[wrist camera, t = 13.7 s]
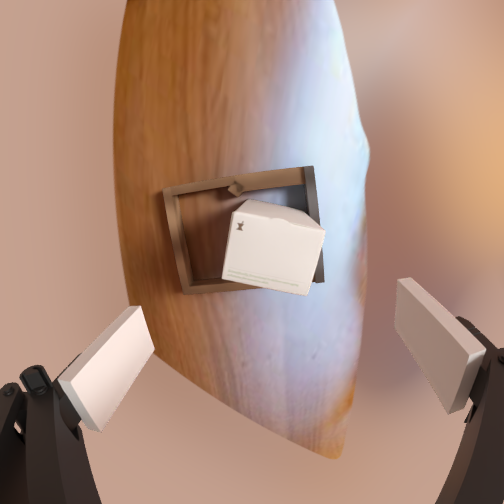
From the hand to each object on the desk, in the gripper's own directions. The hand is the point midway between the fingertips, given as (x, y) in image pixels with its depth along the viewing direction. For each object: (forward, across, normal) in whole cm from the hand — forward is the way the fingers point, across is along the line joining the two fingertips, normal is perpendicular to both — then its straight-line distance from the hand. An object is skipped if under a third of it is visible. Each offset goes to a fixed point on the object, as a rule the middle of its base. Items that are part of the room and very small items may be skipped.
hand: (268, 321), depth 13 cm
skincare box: (+27, 0, 0) cm, 27 cm away
